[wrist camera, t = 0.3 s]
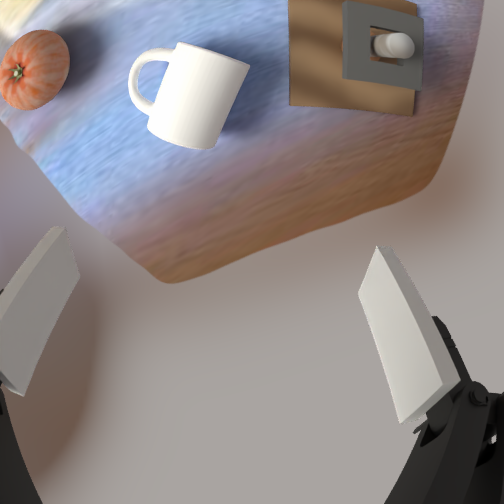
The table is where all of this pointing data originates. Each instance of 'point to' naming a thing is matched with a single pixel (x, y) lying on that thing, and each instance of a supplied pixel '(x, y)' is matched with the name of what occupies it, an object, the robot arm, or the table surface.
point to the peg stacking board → (331, 55)
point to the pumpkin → (34, 69)
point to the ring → (358, 45)
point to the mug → (189, 94)
